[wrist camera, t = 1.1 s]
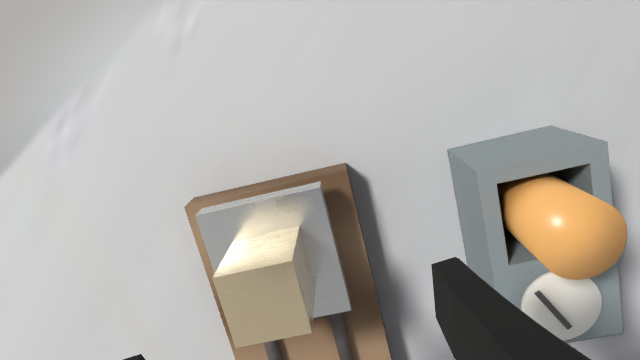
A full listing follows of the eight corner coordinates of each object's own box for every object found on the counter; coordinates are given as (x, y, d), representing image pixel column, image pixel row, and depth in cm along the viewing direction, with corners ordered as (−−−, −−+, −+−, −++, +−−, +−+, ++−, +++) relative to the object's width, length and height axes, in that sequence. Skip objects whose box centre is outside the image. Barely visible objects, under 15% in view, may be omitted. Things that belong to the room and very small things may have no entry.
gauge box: (569, 282, 23) (630, 338, 18) (473, 300, 24) (509, 361, 19) (551, 125, 21) (614, 143, 16) (447, 149, 22) (479, 173, 17)
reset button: (559, 221, 20) (630, 270, 15) (493, 234, 21) (543, 287, 16) (552, 159, 20) (623, 190, 15) (484, 174, 20) (532, 209, 15)
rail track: (400, 394, 25) (406, 424, 23) (266, 418, 26) (260, 450, 24) (345, 162, 22) (346, 173, 20) (193, 198, 23) (179, 211, 20)
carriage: (350, 298, 21) (355, 360, 17) (238, 321, 22) (214, 386, 17) (320, 181, 20) (317, 214, 15) (201, 208, 20) (165, 248, 16)
